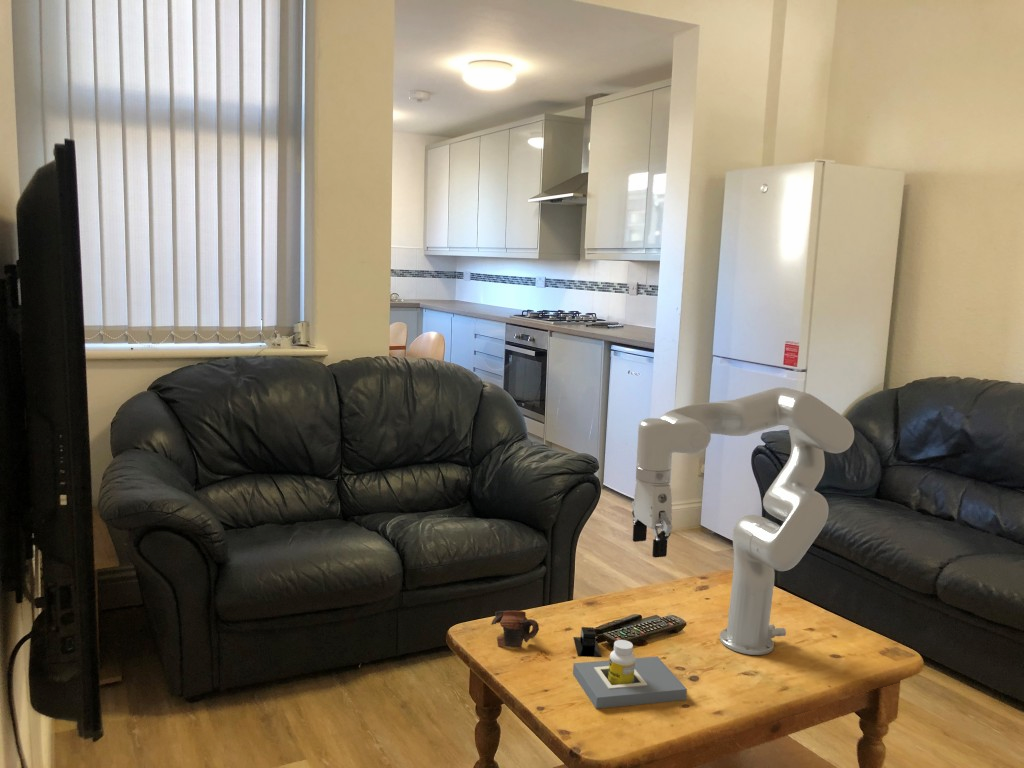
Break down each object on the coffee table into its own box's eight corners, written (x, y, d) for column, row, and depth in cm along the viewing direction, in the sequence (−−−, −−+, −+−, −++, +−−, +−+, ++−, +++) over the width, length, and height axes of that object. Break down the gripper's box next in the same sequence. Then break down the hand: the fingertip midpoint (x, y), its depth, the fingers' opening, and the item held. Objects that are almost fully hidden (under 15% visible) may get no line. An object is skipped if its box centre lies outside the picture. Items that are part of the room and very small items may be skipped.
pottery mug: (484, 647, 185) (485, 610, 188) (501, 649, 193) (501, 614, 196) (532, 646, 180) (532, 608, 183) (548, 648, 188) (547, 612, 191)
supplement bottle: (602, 682, 171) (606, 639, 170) (624, 678, 173) (628, 636, 172) (615, 695, 166) (619, 651, 165) (637, 691, 168) (641, 648, 167)
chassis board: (656, 666, 180) (657, 655, 179) (685, 699, 166) (687, 688, 166) (572, 673, 174) (573, 662, 174) (596, 708, 161) (597, 696, 161)
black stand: (606, 662, 181) (607, 643, 180) (574, 661, 181) (575, 642, 180) (598, 637, 193) (599, 619, 193) (568, 636, 193) (569, 618, 192)
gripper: (688, 484, 169) (683, 561, 172) (650, 463, 186) (646, 534, 188) (656, 487, 167) (651, 564, 170) (621, 465, 183) (617, 536, 186)
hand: (649, 548), depth 179 cm, fingers open, 9 cm apart
